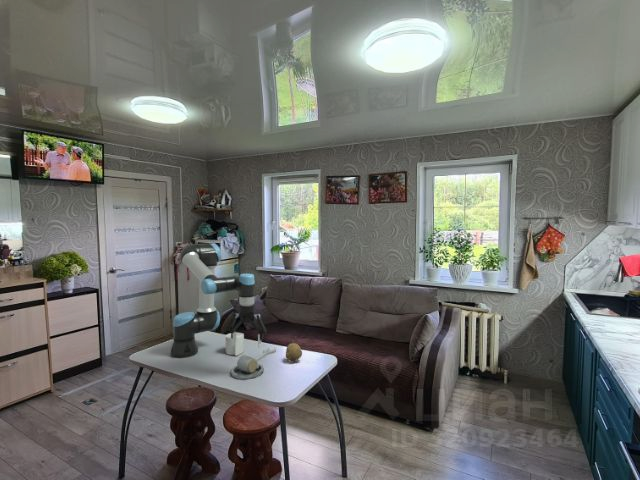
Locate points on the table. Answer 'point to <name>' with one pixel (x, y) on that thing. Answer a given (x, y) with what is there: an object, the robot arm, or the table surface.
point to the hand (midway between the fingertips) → (247, 345)
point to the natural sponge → (293, 352)
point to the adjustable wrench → (266, 352)
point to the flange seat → (244, 375)
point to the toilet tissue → (239, 345)
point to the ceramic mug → (247, 364)
